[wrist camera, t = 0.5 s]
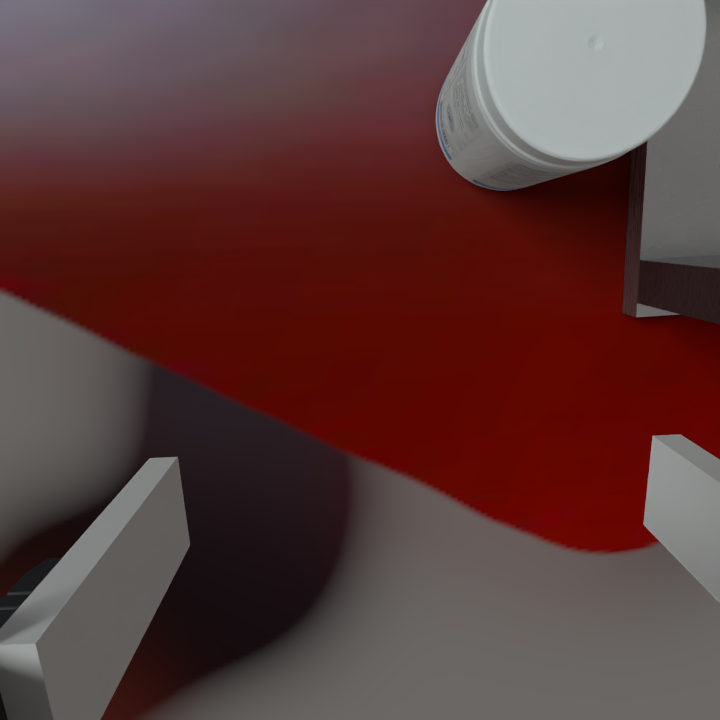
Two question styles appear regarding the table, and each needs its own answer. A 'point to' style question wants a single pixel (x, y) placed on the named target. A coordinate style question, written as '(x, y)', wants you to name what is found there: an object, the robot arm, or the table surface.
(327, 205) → the table surface
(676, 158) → the vise
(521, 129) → the supplement tub
